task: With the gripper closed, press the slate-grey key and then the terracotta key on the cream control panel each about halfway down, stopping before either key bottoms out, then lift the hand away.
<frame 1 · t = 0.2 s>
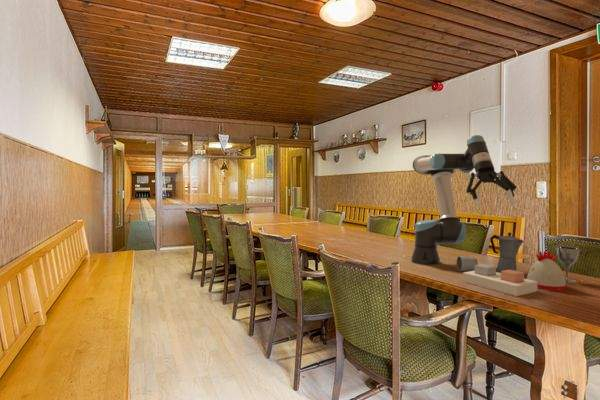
hand: (496, 204, 150), 35 cm above the table, tool tilted 35°, fingers open, 13 cm apart
key panel: (498, 286, 151), on the table
grey cylinder: (465, 271, 179), on the table
moka pot: (505, 272, 175), on the table
terracotta key: (512, 275, 146), point 6 cm above the table, slide at 0.0 cm
grey key: (485, 269, 156), point 6 cm above the table, slide at 0.0 cm
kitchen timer: (545, 286, 152), on the table
wine glass: (566, 281, 160), on the table
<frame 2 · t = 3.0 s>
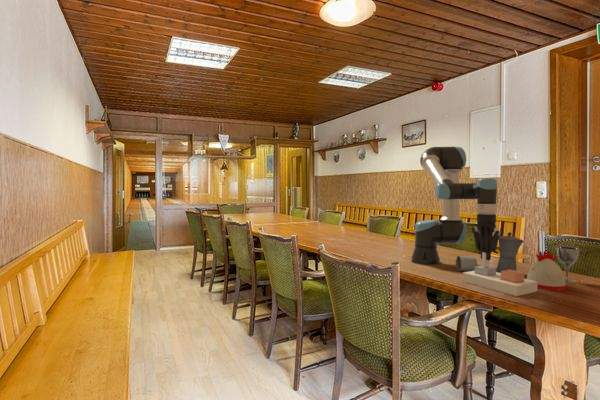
hand: (485, 266, 156), 7 cm above the table, tool pointing down, fingers closed
grey key: (485, 271, 156), point 5 cm above the table, slide at 0.7 cm, touching gripper
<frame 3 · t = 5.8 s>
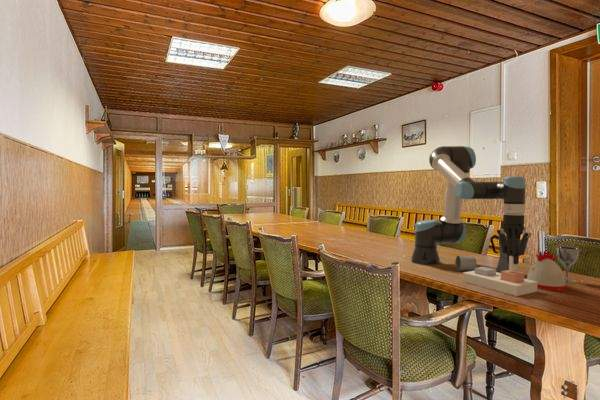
hand: (512, 271, 145), 8 cm above the table, tool pointing down, fingers closed
terracotta key: (512, 276, 146), point 6 cm above the table, slide at 0.1 cm, touching gripper
grey key: (485, 272, 156), point 4 cm above the table, slide at 1.3 cm
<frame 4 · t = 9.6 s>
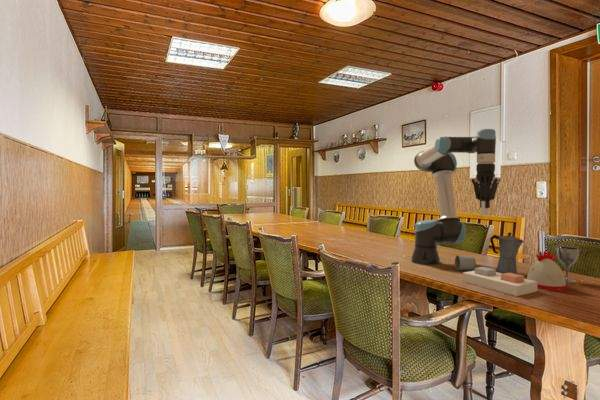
hand: (484, 215, 163), 29 cm above the table, tool pointing down, fingers closed
terracotta key: (512, 279, 146), point 4 cm above the table, slide at 1.3 cm
at the end: grey key slide at 1.3 cm; terracotta key slide at 1.3 cm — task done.
